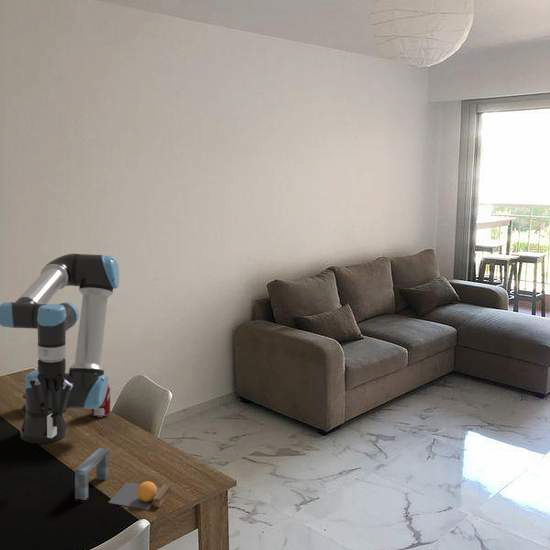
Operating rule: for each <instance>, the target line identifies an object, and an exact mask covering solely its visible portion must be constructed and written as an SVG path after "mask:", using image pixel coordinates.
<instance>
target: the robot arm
mask: <svg viewBox="0 0 550 550" xmlns="http://www.w3.org/2000/svg"><path fill="white" fill-rule="evenodd" d="M119 283H120V269H119V263H118V262H117V259H116V258H115V257H114V256H112V255H105V254H87V253H86V254H85V253H83V254H82V253H68V254H67V253H66V254H64V255H61V256H59V257H56V258H55V259H53V260H51V261H49V262H48V263H47V264H46V265H44V267H42V268H41V271H40V275H39V276H38V277H37V278H36V280H35V281H34V282H32V283H31V285H29V287H28V288H27V289H26V290H25V291H24V292H23V293H22V295H20V297H18V299H16V301H14V302H13V301H8V302H7V301H5V302H2V303H1V304H0V326H1V327H5V328H12V329H33V330H34V329H35V330H37V358H38V360H37V368H36V369H34V370H32V371H30V372H28V374H26V377H25V385H24V391H26V392H25V393H26V399H25V404H26V412H25V416H24V418H23V422H22V425H21V428H20V439H21V440H22V441H24V442H27V443H30V444H49V443H53V442H56V441H59V440H61V439H63V438H65V437H66V436H67V434H68V425H67V423H66V419H65V416H64V414H65V413H66V411H67V409H83V410H89V409H90V410H92V409H96V408H99V407H100V406H101V405H102V403H103V401H104V399H105V396H106V393H107V388H108V384H109V376H108V375H106V374H104V373H105V369H104V368H103V366H101V362H102V352H103V343H104V333H105V326H106V325H105V324H106V319H107V318H106V315H107V308H108V307H107V306H108V298H109V297H110V296H112V295H113V291H114V289H115V290H116V289H117V288H118V287H119ZM71 286H72V287H78V291H79V293H81V295H82V301H81V306H80V307H81V308H80V311H79V309H78V307H77V306H76V305H75V304H74V303H72V302H62V303H59V304H57V303H49V302H50V300H51V299H52V298H53V297H54V295H55V294H56V293H58V291H59V290H62V289H64V288H65V287H71ZM78 320H79V324H78V325H79V326H78V333H77V341H76V350H75V357H74V363H73V364H72V365H70V366H69V368H68V372H67V373H66V367H67V366H66V364H67V362H66V357H67V354H66V353H67V351H66V348H67V347H66V342H67V341H66V339H67V338H66V333H67V331H68V330H69V329H70V328H73V327H74V326H75V325H76V323H77V322H78ZM66 408H67V409H66Z"/></svg>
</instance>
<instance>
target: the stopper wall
mask: <svg viewBox="0 0 550 550" xmlns="http://www.w3.org/2000/svg"><path fill="white" fill-rule="evenodd" d="M160 488H161V489H160V490H159V491H158V493H157V494H156V495H155V497H154V498H153V505H152V507H153V508H161V507H162V505H163V504H164V503H165V501H166V499H168V497H169V496H170V494H171V485H167V484H163V485H162V486H161V487H160Z"/></svg>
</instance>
